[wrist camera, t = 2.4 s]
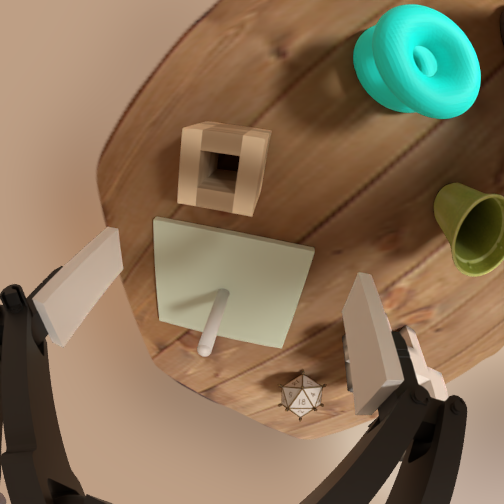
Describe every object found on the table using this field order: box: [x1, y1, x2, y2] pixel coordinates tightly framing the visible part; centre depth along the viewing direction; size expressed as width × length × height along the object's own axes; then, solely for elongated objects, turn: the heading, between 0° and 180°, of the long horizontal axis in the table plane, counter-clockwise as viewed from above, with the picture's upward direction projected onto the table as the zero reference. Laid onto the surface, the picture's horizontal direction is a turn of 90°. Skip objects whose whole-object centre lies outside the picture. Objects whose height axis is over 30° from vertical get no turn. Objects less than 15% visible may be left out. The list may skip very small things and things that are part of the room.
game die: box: [278, 370, 327, 421], centre depth 44 cm, size 9×8×10 cm
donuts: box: [353, 4, 481, 119], centre depth 17 cm, size 10×10×10 cm
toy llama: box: [342, 313, 449, 461], centre depth 31 cm, size 8×18×20 cm, turn 61°
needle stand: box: [153, 216, 315, 356], centre depth 33 cm, size 18×20×12 cm
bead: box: [177, 121, 271, 217], centre depth 26 cm, size 7×7×7 cm
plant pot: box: [434, 182, 504, 277], centre depth 23 cm, size 9×9×9 cm
